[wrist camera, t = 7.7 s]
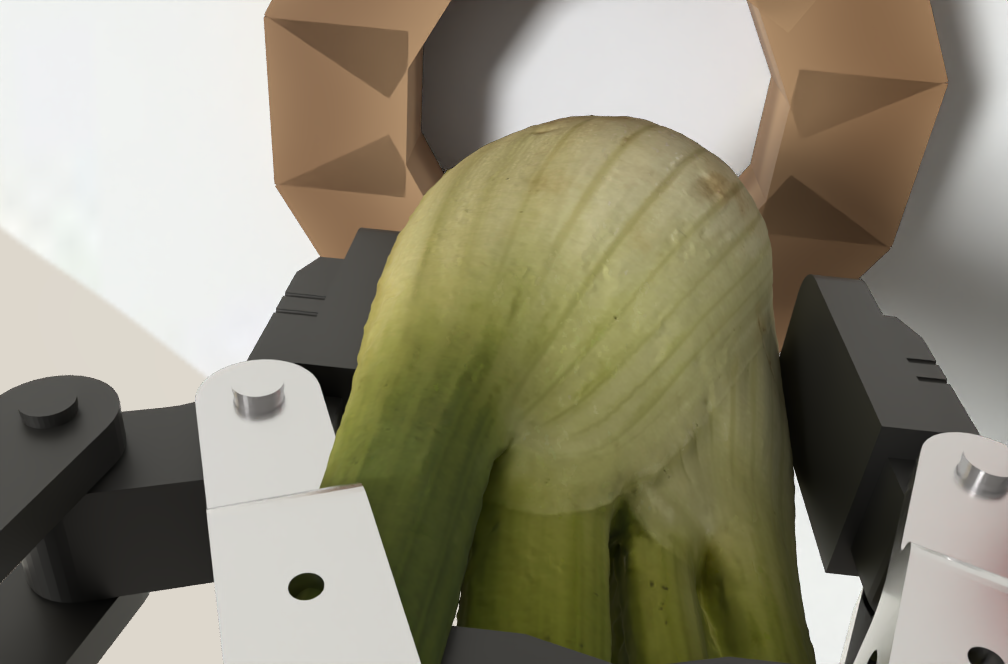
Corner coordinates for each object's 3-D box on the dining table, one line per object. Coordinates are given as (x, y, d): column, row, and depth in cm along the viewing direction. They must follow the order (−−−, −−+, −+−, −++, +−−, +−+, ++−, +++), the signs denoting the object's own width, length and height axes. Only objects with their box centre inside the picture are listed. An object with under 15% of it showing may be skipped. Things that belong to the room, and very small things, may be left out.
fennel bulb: (401, 141, 15) (35, 882, 5) (671, 1, 14) (912, 662, 4) (556, 392, 18) (516, 1218, 8) (799, 297, 16) (1150, 1175, 6)
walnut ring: (1000, -216, 17) (1050, -213, 15) (811, 376, 25) (829, 426, 23) (279, -281, 18) (244, -286, 16) (308, 324, 25) (286, 369, 23)
